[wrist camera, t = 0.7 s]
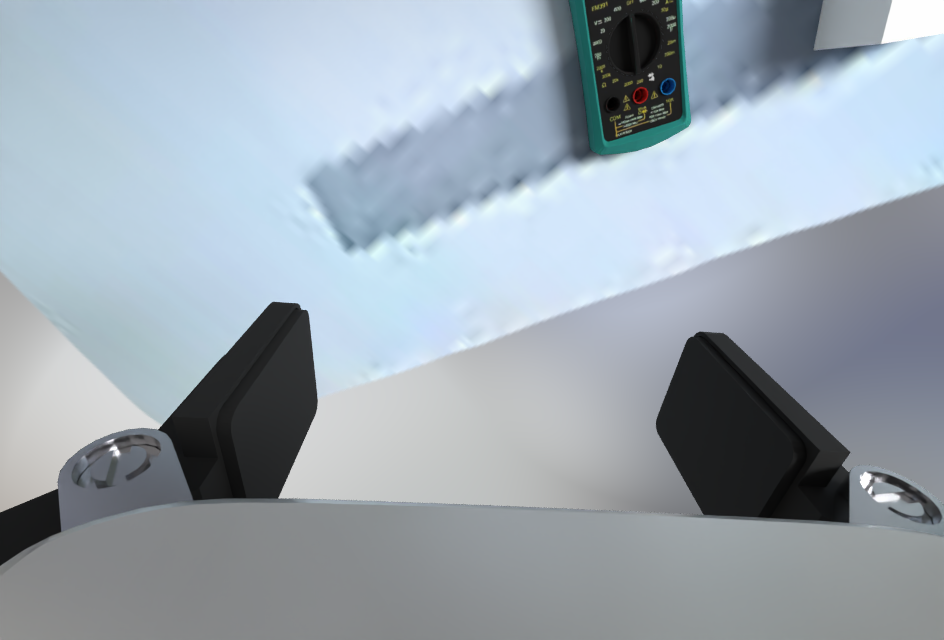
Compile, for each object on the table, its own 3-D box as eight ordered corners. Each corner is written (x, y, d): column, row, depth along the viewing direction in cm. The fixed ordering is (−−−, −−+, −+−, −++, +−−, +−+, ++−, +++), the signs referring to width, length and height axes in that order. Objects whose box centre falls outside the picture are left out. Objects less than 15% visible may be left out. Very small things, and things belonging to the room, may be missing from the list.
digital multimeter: (589, 158, 36) (599, 164, 33) (553, -65, 29) (563, -80, 26) (678, 130, 35) (696, 134, 32) (664, -107, 28) (684, -127, 25)
